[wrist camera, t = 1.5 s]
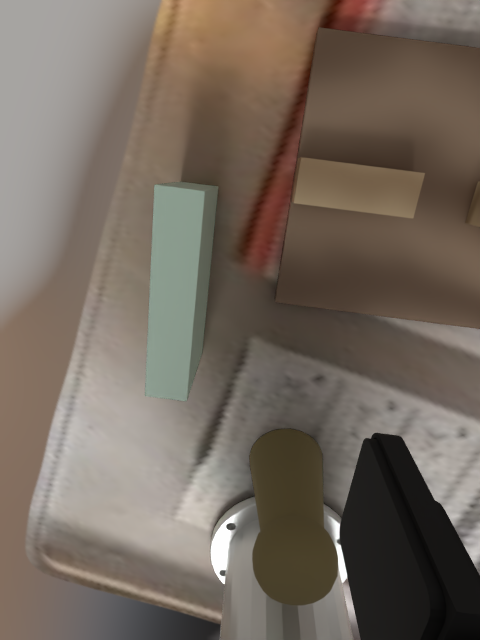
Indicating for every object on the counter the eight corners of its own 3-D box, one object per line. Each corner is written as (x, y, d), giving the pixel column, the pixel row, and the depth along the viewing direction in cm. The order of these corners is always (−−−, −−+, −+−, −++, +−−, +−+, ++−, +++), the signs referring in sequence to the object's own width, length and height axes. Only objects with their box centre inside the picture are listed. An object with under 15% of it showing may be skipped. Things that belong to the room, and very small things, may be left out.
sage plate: (202, 352, 31) (186, 401, 24) (169, 348, 31) (144, 395, 24) (218, 186, 27) (204, 191, 20) (180, 181, 27) (154, 184, 20)
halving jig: (527, 330, 29) (556, 348, 26) (274, 298, 29) (276, 311, 26) (628, 72, 23) (679, 59, 21) (316, 33, 23) (324, 14, 21)
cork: (338, 458, 33) (373, 586, 23) (287, 500, 35) (298, 638, 25) (284, 414, 32) (295, 529, 22) (234, 461, 34) (222, 587, 24)
